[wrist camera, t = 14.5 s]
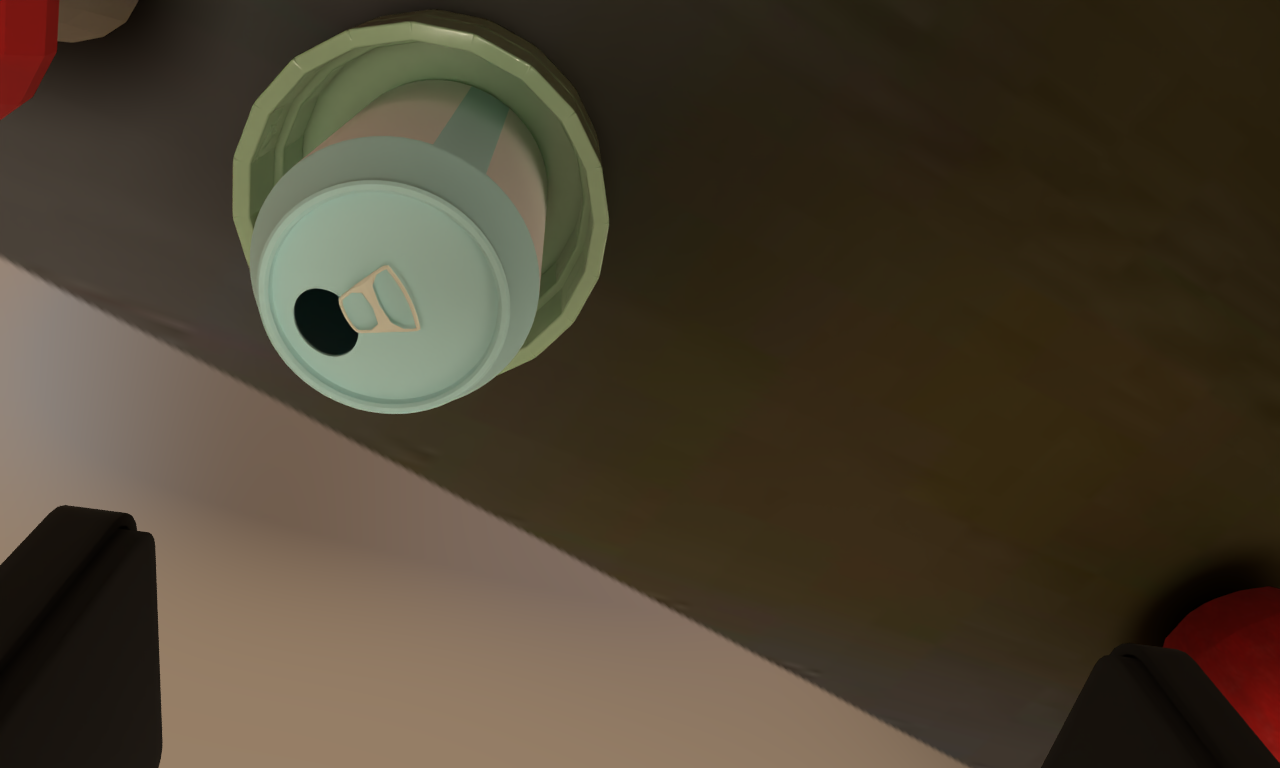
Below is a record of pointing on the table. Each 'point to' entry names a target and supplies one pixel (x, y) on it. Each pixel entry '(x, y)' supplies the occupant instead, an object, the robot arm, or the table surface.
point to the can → (405, 250)
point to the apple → (1240, 654)
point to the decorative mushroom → (47, 38)
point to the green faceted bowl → (453, 51)
